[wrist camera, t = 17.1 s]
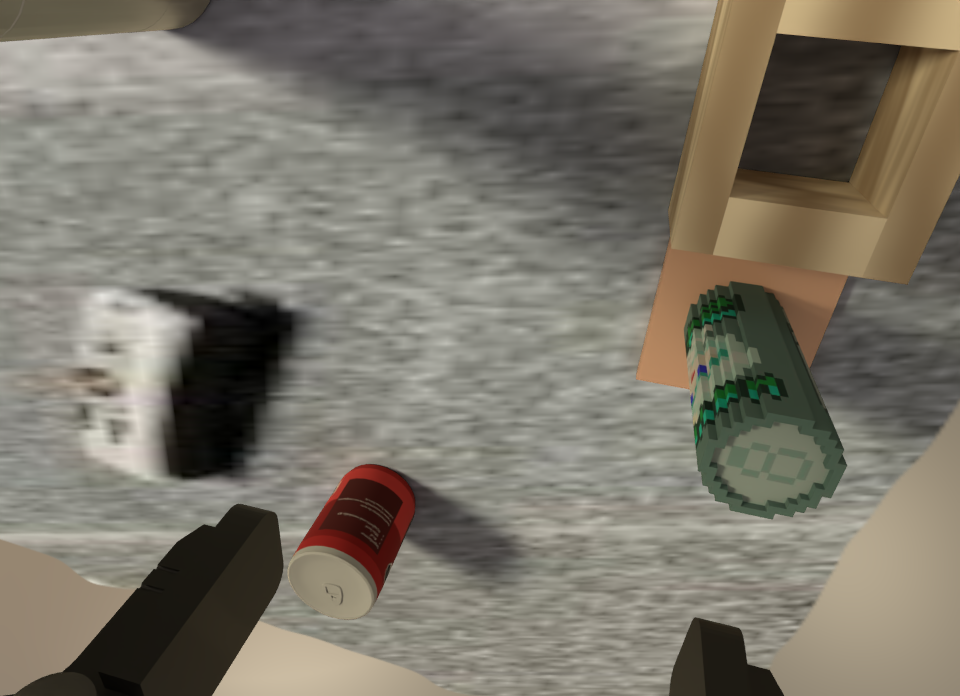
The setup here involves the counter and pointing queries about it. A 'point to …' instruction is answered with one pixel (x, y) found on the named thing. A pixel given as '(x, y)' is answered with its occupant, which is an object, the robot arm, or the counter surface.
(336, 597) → the canned food
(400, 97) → the counter surface
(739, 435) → the can
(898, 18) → the bore block
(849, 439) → the counter surface
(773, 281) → the plate
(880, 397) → the counter surface
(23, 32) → the robot arm
